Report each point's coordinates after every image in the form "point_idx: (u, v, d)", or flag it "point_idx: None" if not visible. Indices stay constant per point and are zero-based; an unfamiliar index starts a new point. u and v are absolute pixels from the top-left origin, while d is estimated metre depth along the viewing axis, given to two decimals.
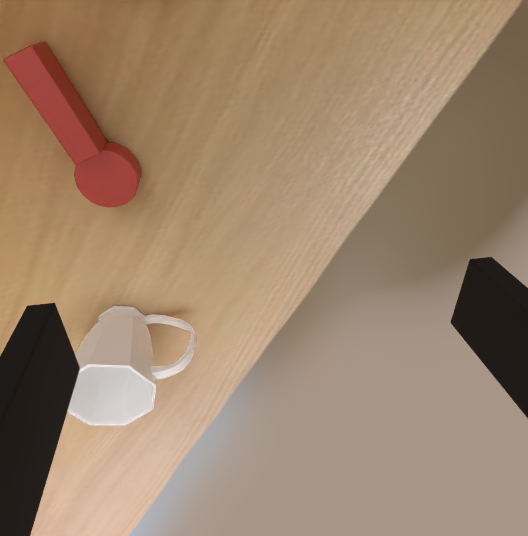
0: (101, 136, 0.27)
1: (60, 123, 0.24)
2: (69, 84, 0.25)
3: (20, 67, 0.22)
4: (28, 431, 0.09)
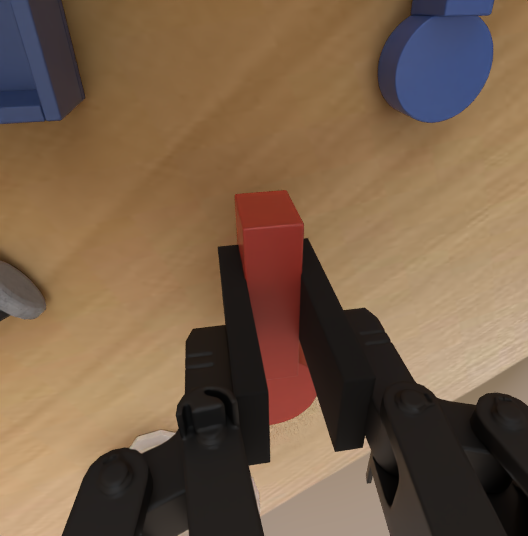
0: None
1: (269, 330, 0.14)
2: None
3: (264, 247, 0.12)
4: None
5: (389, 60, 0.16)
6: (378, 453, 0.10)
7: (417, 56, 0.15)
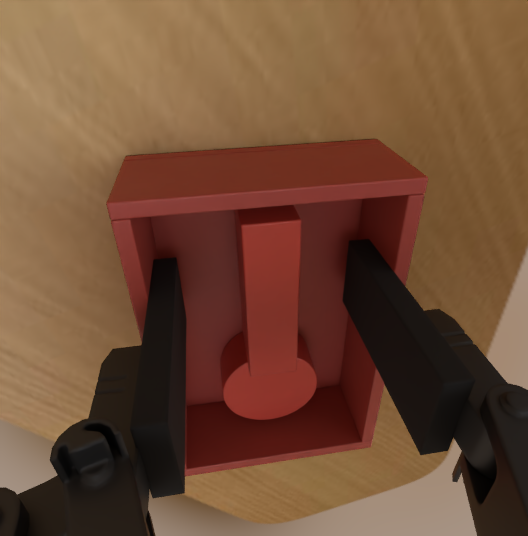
0: None
1: (267, 326, 0.14)
2: None
3: (262, 243, 0.12)
4: (178, 354, 0.11)
5: None
6: (471, 451, 0.10)
7: None
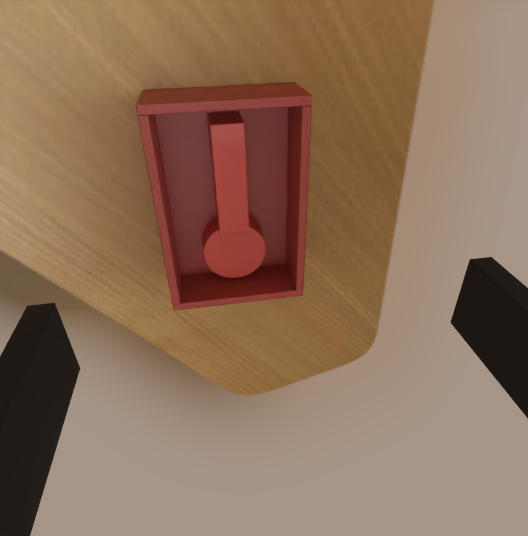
0: None
1: (228, 195, 0.23)
2: None
3: (222, 137, 0.21)
4: (28, 431, 0.09)
5: None
6: None
7: None
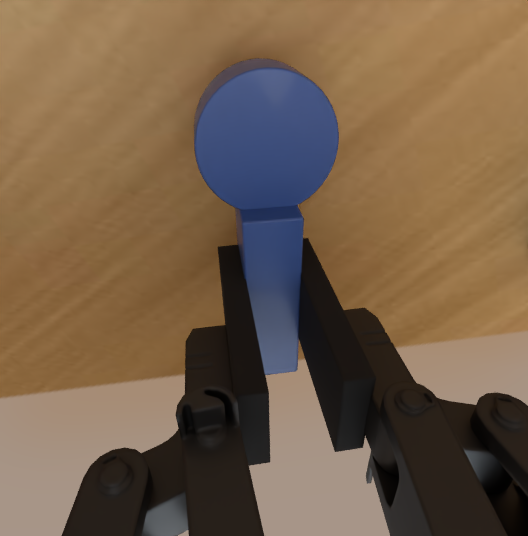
0: None
1: None
2: None
3: None
4: None
5: None
6: (378, 453, 0.10)
7: (310, 163, 0.12)
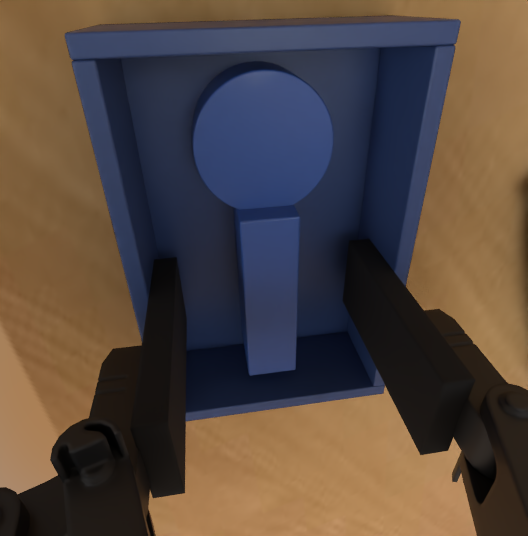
0: None
1: None
2: None
3: None
4: (178, 354, 0.11)
5: None
6: (471, 451, 0.10)
7: (306, 163, 0.12)
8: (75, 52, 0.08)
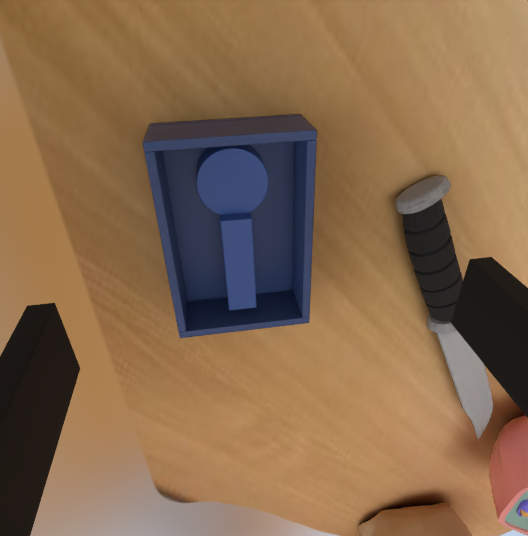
0: None
1: None
2: None
3: None
4: (28, 431, 0.09)
5: None
6: None
7: (255, 191, 0.23)
8: (146, 149, 0.19)
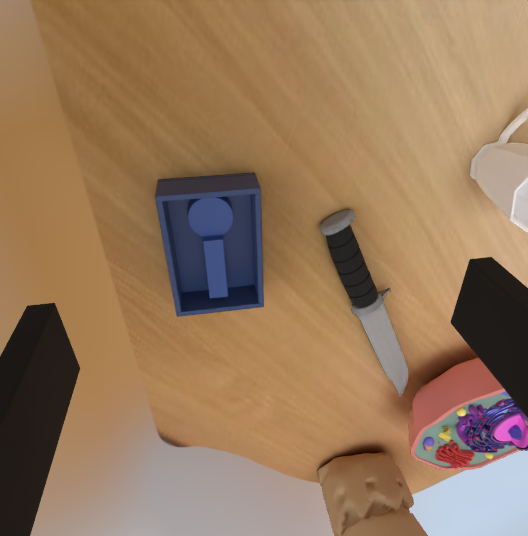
0: None
1: None
2: None
3: None
4: (28, 431, 0.09)
5: None
6: None
7: (225, 222, 0.36)
8: (157, 200, 0.33)
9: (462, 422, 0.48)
